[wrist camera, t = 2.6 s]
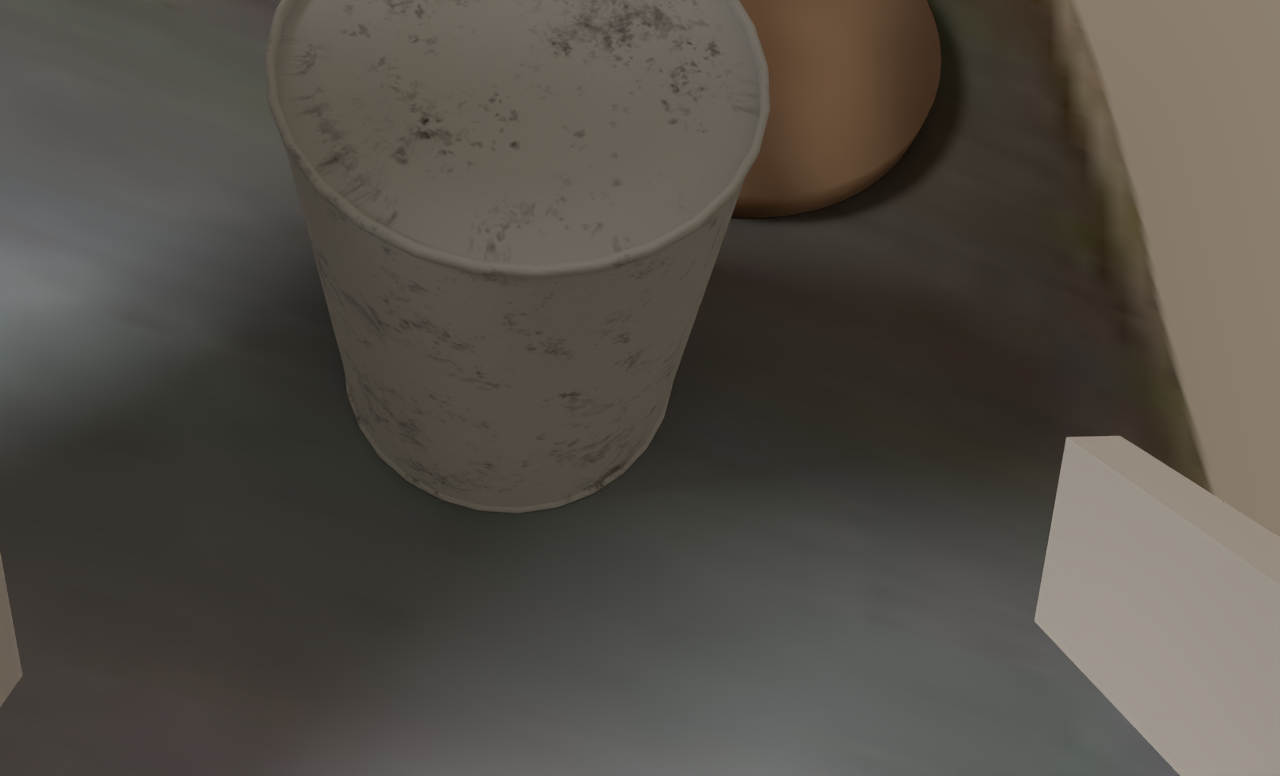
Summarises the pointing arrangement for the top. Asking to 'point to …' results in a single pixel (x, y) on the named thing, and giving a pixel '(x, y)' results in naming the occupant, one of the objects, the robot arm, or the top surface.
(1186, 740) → the robot arm
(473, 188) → the white speckled cylinder
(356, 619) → the top surface
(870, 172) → the walnut board
